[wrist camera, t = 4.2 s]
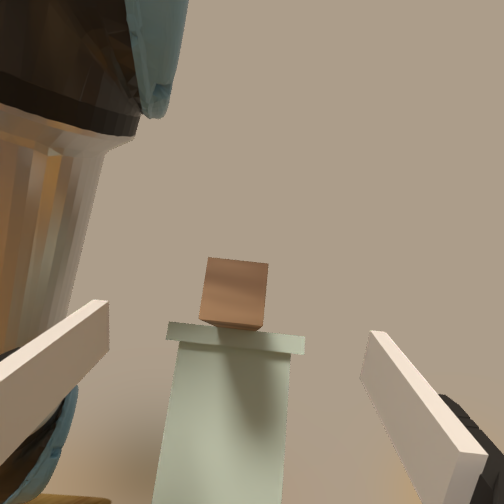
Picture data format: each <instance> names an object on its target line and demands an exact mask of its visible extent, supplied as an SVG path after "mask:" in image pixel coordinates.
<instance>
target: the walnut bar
mask: <svg viewBox="0 0 504 504" xmlns="http://www.w3.org/2000/svg"><path fill="white" fill-rule="evenodd" d="M267 274H268V264H267V263H257V262H248V261H239V260H229V259H220V258H211V257H208V262H207V269H206V275H205V281H204V287H203V295H202V300H201V306H200V313H199V319H200V320H202V321H205V322H207V323H209V324H212V325H214V326H216V327H222V328H232V329H241V330H250V331H257V330H258V329H260V328H261V327H262V326H263V318H264V307H265V296H266V285H267Z"/></svg>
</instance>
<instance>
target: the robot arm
mask: <svg viewBox="0 0 504 504" xmlns="http://www.w3.org/2000/svg"><path fill="white" fill-rule="evenodd" d="M188 1H189V0H0V504H21V503H25V502H28V501H31V500H32V499H34V498H36V497H37V496H38V495H39V494H40V493H41V492H42V491H43V490H44V488H45V487H46V485H47V484H48V482H49V480H50V478H51V476H52V474H53V472H54V470H55V468H56V465H57V463H58V460H59V458H60V454H61V449H62V447H63V445H64V443H65V441H66V438H67V435H68V433H69V429H70V426H71V423H72V419H73V416H74V412H75V408H76V403H77V398H78V386H77V384H78V383H79V382H80V381H81V379H83V377H84V376H85V375H86V374H87V373H88V372H89V371H90V370H91V369H92V368H93V367H94V366H95V365H96V364H97V363H98V362H99V360H100V359H101V358H102V357H103V356H104V355H105V354H106V353H107V352H108V351H109V301H103V300H95V299H94V300H92V301H91V302H89V303H88V304H86V305H85V306H83V307H82V308H80V309H79V310H77V311H76V312H74V313H73V314H71V315H70V316H68V317H67V318H66V314H67V309H68V306H69V302H70V297H71V293H72V289H73V285H74V280H75V276H76V272H77V268H78V264H79V260H80V256H81V252H82V247H83V243H84V239H85V235H86V231H87V226H88V222H89V218H90V214H91V210H92V206H93V201H94V197H95V193H96V189H97V185H98V180H99V176H100V172H101V168H102V163H103V159H104V156H105V154H106V153H107V152H108V151H109V150H112V149H114V148H116V147H118V146H121V145H123V144H125V143H128V142H130V141H132V140H133V139H134V137H135V134H136V130H137V126H138V122H139V119H140V115H141V114H144V115H145V116H146V117H147V118H149V119H151V118H156V119H160V118H162V117H164V115H165V113H166V111H167V108H168V104H169V99H170V94H171V90H172V83H173V79H174V75H175V72H176V68H177V64H178V59H179V53H180V48H181V43H182V37H183V31H184V26H185V19H186V14H187V8H188ZM360 380H361V382H362V384H363V386H364V388H365V390H366V392H367V394H368V396H369V398H370V400H371V402H372V404H373V406H374V408H375V410H376V412H377V414H378V416H379V418H380V420H381V422H382V424H383V426H384V428H385V430H386V432H387V434H388V436H389V438H390V440H391V442H392V444H393V446H394V448H395V450H396V452H397V454H398V456H399V458H400V460H401V462H402V464H403V466H404V468H405V470H406V472H407V474H408V476H409V478H410V480H411V482H412V484H413V486H414V488H415V490H416V492H417V494H418V496H419V498H420V500H421V502H422V504H504V455H503V454H502V453H501V451H500V450H499V449H498V448H497V447H496V446H495V445H494V444H493V442H492V441H491V440H490V439H489V438H488V437H487V436H486V435H485V434H484V432H483V431H482V430H479V427H478V426H477V425H476V424H475V422H474V421H473V420H471V419H470V417H469V416H468V414H467V413H466V412H465V411H464V410H463V409H462V408H461V407H460V406H459V405H458V404H457V403H455V402H454V401H453V400H451V399H450V398H449V397H447V396H446V395H441V394H437V393H436V392H435V390H434V389H433V388H432V387H431V386H430V384H429V383H428V382H427V381H426V380H425V379H424V377H423V376H422V375H421V374H420V373H419V371H418V370H417V369H416V368H415V367H414V365H413V364H412V363H411V362H410V361H409V359H408V358H407V357H406V356H405V355H404V354H403V352H402V351H401V350H400V349H399V347H398V346H397V345H396V344H395V343H394V341H393V340H392V339H391V338H390V337H389V336H388V334H387V333H386V332H381V331H372V330H370V333H369V338H368V342H367V347H366V352H365V356H364V361H363V366H362V370H361V375H360Z"/></svg>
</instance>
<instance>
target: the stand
mask: <svg viewBox="0 0 504 504" xmlns="http://www.w3.org/2000/svg"><path fill="white" fill-rule="evenodd" d="M166 339H167V340H176V341H180V342H179V348H178V354H177V359H176V366H175V371H174V377H173V383H172V389H171V394H170V400H169V406H168V412H167V417H166V423H165V429H164V434H163V440H162V446H161V452H160V458H159V464H158V470H157V475H156V481H155V487H154V493H153V498H152V504H281V503H282V502H281V501H282V486H283V470H284V455H285V454H284V453H285V437H286V421H287V406H288V390H289V374H290V357H291V353H294V354H302V355H303V354H304V347H305V337H304V336H295V335H286V334H276V333H267V332H258V331H250V330H241V329H232V328H222V327H212V326H204V325H195V324H186V323H177V322H169V324H168V330H167V335H166Z"/></svg>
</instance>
